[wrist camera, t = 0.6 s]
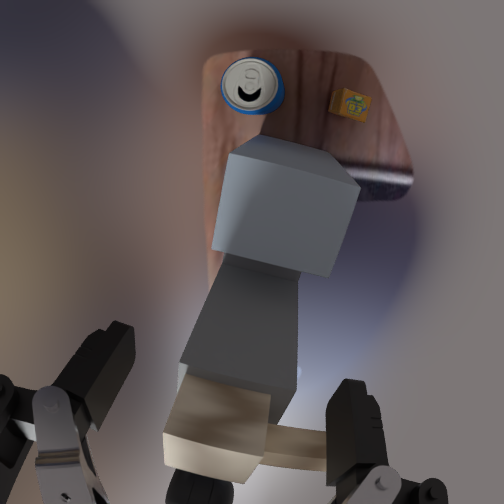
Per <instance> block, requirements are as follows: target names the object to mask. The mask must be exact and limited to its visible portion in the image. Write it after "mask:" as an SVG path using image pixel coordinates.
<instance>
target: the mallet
mask: <svg viewBox="0 0 504 504" xmlns="http://www.w3.org/2000/svg"><path fill="white" fill-rule="evenodd" d="M270 399H271V395H270V394H265V393H260V392H256V391H251V390H247V389H242V388H238V387H234V386H230V385H226V384H222V383H218V382H214V381H210V380H207V379H203V378H199V377H196V376H192V375H189V374H185V376H184V378H183V381H182V383H181V386H180V389H179V391H178V394H177V397H176V399H175V402H174V405H173V407H172V410H171V412H170V415H169V418H168V420H167V423H166V426H165V428H164V431H163V443H164V460H165V465H168V466H171V467H174V468H178V469H181V470H184V471H188V472H192V473H195V474H199V475H203V476H207V477H211V478H216V479H220V480H225V481H230V482H235V483H240V484H244V483H245V482H246V481H247V479H248V478H249V477H250V475H251V474H252V473H253V471H254V470H255V468H256V467H257V466H258V464H263V465H269V466H276V467H283V468H291V469H300V470H312V471H326V432H325V431H316V430H308V429H301V428H294V427H287V426H281V425H275V424H270V423H268V416H269V408H270Z"/></svg>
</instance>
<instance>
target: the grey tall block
mask: <svg viewBox="0 0 504 504" xmlns="http://www.w3.org/2000/svg"><path fill="white" fill-rule="evenodd" d="M360 189H361V187H360V186H359V185H358V184H357V183H356V182H355V180H354V179H353V178H352V177H351V176H350V175H349V174H348V173H347V171H346V170H345V169H344V168H343V167H342V166H341V165H340V164H339V163H338V162H337V161H336V159H335V158H334V157H333V156H332V155H331V154H330V153H329V152H326V151H323V150H319V149H316V148H312V147H308V146H305V145H301V144H297V143H293V142H289V141H285V140H281V139H277V138H273V137H269V136H265V135H260V134H259V135H257V136H255V137H254V138H252V139H251V140H249V141H247V142H246V143H244V144H243V145H241V146H240V147H238V148H236V149H235V150H233V151H232V152H230V153H229V157H228V162H227V167H226V172H225V177H224V182H223V188H222V193H221V198H220V204H219V209H218V215H217V220H216V226H215V231H214V237H213V243H212V249H213V250H217V251H221V252H225V253H229V254H233V255H237V256H241V257H245V258H249V259H253V260H257V261H261V262H265V263H269V264H273V265H277V266H281V267H285V268H289V269H293V270H297V271H301V272H305V273H310V274H313V275H317V276H322V277H326V278H329V276H330V273H331V271H332V268H333V266H334V263H335V261H336V258H337V255H338V253H339V249H340V247H341V244H342V241H343V239H344V236H345V233H346V231H347V227H348V225H349V222H350V219H351V216H352V213H353V210H354V207H355V204H356V201H357V198H358V195H359V192H360Z"/></svg>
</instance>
